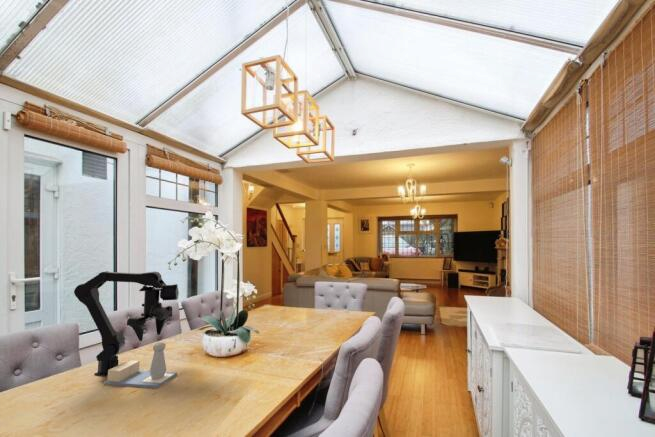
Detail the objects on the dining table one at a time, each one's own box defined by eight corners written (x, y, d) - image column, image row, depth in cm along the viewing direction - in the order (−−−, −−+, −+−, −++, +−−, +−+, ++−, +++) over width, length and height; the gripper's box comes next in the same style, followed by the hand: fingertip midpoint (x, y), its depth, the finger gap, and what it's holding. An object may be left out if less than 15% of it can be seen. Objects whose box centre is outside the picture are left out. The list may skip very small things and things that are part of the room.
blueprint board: (104, 384, 117) (105, 370, 117) (128, 371, 129) (129, 359, 129) (156, 388, 114) (157, 374, 114) (176, 375, 126) (177, 362, 126)
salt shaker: (163, 380, 118) (164, 345, 119) (146, 381, 117) (148, 346, 118) (167, 373, 124) (169, 340, 125) (152, 375, 123) (154, 341, 124)
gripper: (148, 306, 123) (146, 346, 122) (182, 298, 141) (181, 333, 140) (126, 304, 126) (124, 343, 125) (163, 297, 144) (161, 331, 143)
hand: (150, 337), depth 133 cm, fingers open, 9 cm apart
